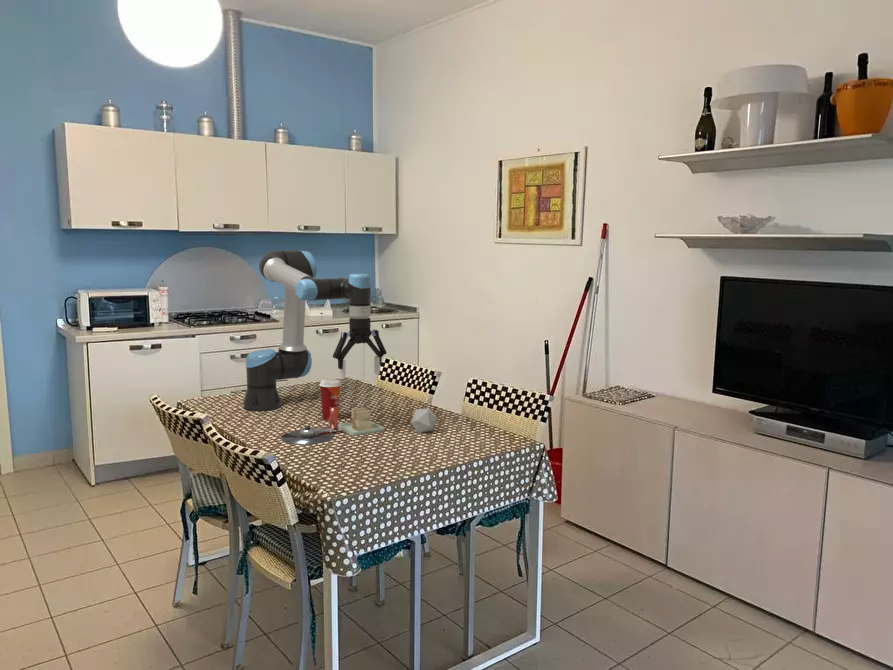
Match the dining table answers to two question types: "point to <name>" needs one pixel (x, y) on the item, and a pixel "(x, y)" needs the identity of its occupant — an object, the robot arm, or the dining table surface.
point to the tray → (348, 429)
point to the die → (423, 420)
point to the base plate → (296, 438)
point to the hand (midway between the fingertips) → (360, 376)
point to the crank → (332, 427)
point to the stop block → (361, 419)
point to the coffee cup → (329, 396)
